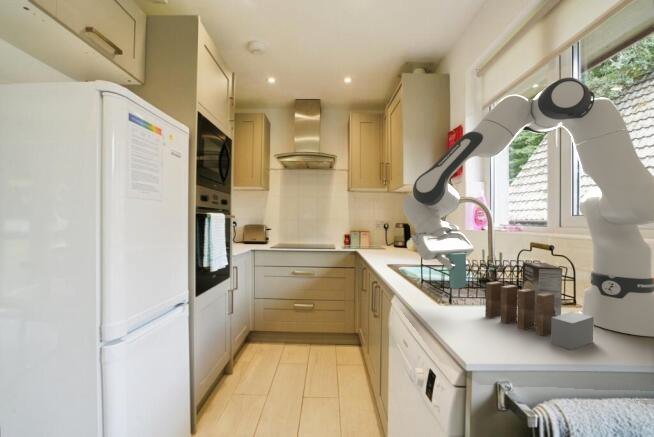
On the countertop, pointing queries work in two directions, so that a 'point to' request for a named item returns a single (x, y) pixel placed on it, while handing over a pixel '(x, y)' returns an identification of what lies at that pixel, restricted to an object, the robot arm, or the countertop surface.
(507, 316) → the domino
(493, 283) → the domino
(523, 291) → the domino
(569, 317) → the end block
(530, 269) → the coffee box
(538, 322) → the domino
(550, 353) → the countertop surface
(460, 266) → the domino
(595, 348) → the countertop surface
